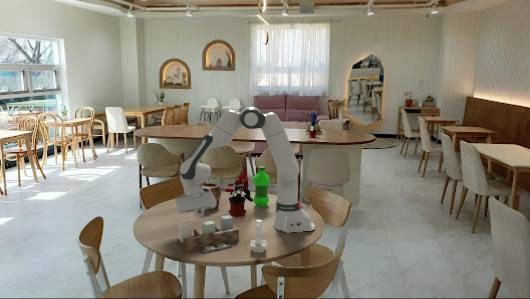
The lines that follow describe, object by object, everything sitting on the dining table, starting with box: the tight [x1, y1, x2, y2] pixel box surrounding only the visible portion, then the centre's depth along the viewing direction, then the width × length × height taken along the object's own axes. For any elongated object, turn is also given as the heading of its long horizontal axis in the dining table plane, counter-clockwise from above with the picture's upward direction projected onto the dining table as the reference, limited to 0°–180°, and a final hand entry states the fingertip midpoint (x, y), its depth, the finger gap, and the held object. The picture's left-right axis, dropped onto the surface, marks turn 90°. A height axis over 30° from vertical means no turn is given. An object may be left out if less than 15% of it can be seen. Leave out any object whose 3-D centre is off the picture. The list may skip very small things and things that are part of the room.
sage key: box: [201, 220, 216, 235], centre depth 196 cm, size 5×4×8 cm
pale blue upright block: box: [220, 214, 234, 231], centre depth 204 cm, size 5×4×8 cm
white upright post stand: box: [250, 219, 267, 254], centre depth 186 cm, size 7×9×15 cm
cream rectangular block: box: [178, 222, 193, 243], centre depth 193 cm, size 5×4×8 cm
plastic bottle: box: [253, 165, 271, 208], centre depth 248 cm, size 10×10×25 cm
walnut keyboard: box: [176, 225, 240, 254], centre depth 194 cm, size 28×18×6 cm, turn 120°
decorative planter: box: [201, 182, 222, 210], centre depth 247 cm, size 20×12×14 cm, turn 162°
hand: (201, 217), depth 203 cm, fingers closed
